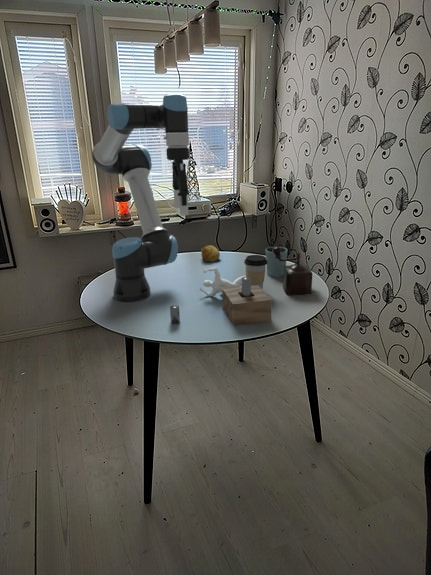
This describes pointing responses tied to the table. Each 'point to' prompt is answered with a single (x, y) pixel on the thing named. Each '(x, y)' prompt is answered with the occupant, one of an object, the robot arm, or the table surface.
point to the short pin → (174, 314)
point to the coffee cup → (256, 269)
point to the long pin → (246, 287)
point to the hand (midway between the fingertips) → (181, 211)
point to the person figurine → (220, 283)
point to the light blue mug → (275, 262)
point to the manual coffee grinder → (295, 276)
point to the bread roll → (210, 253)
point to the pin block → (246, 305)
